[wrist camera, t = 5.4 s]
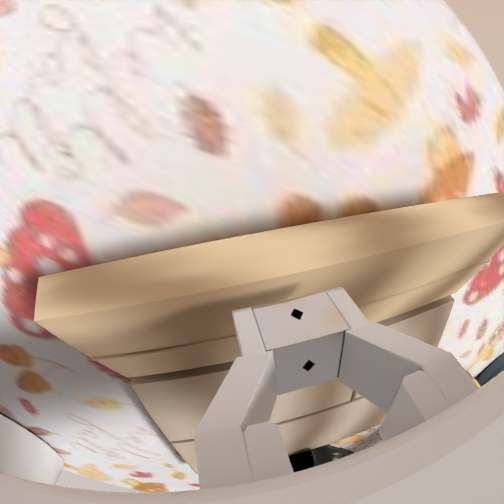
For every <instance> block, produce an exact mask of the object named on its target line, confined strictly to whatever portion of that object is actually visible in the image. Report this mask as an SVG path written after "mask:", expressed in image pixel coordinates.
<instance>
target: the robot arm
mask: <svg viewBox="0 0 504 504" xmlns="http://www.w3.org/2000/svg"><path fill="white" fill-rule="evenodd" d="M232 317H233V322H234V328H235V333H236V338H237V343H238V348H239V353H240V357H237V358H236V359H235V360H234V362H233V364H232V366H231V368H230V370H229V371H228V373H227V375H226V377H225V379H224V380H223V382H222V384H221V386H220V388H219V389H218V391H217V393H216V395H215V397H214V398H213V400H212V402H211V404H210V405H209V407H208V409H207V411H206V412H205V414H204V416H203V418H202V419H201V421H200V423H199V425H198V426H197V428H196V430H195V432H194V440H195V450H196V459H197V467H198V475H199V483H200V490H191V491H178V492H153V493H132V492H131V493H130V492H129V493H128V492H107V491H94V490H85V489H75V488H69V487H62V486H56V482H57V479H58V477H59V475H60V473H61V471H62V469H63V467H64V462H63V460H62V458H61V457H60V456H59V455H58V454H57V452H55V451H54V450H53V449H52V448H51V447H50V446H49V445H47V444H46V443H45V442H43V441H42V440H41V439H39V438H38V437H37V436H35V435H34V434H32V433H31V432H29V431H28V430H26V429H25V428H23V427H21V426H20V425H18V424H17V423H15V422H13V421H12V420H10V419H8V418H7V417H5V416H3V415H1V414H0V504H504V371H502V372H501V373H500V374H498V375H497V376H496V377H494V378H493V379H492V380H490V381H489V382H487V383H486V384H485V385H483V386H482V387H480V388H479V387H478V386H477V384H476V383H475V382H474V381H473V379H472V378H471V377H470V376H469V374H468V373H467V372H466V371H465V369H464V368H463V367H462V366H461V364H460V363H459V362H458V361H457V359H456V358H455V357H454V356H453V355H452V353H450V352H447V351H445V350H442V349H440V348H437V347H435V346H432V345H430V344H428V343H425V342H423V341H420V340H418V339H415V338H413V337H410V336H408V335H406V334H403V333H401V332H398V331H396V330H393V329H391V328H389V327H386V326H384V325H381V324H379V323H377V322H373V323H370V322H369V321H368V320H367V318H366V317H365V316H364V314H363V313H362V312H361V310H360V309H359V308H358V306H357V305H356V304H355V303H354V301H353V300H352V299H351V297H350V296H349V295H348V293H347V292H346V291H345V290H344V288H342V287H337V288H333V289H329V290H325V291H323V292H319V293H315V294H311V295H307V296H303V297H298V298H294V299H290V300H284V301H279V302H274V303H269V304H263V305H258V306H253V307H248V308H243V309H238V310H232ZM335 379H338V381H340V382H341V383H343V384H344V385H346V386H347V387H349V388H350V389H352V390H353V391H355V392H356V393H358V394H359V395H361V396H362V397H364V398H365V399H367V400H368V401H370V402H371V403H373V404H375V405H376V406H378V407H379V408H381V409H382V410H384V411H385V412H387V413H388V414H387V416H386V418H385V420H384V422H383V424H382V426H381V428H380V430H379V432H378V433H379V435H380V437H381V439H382V441H383V442H381V443H378V444H376V445H374V446H371V447H369V448H366V449H364V450H361V451H359V452H356V453H354V454H351V455H348V456H345V457H343V458H340V459H337V460H334V461H331V462H328V463H325V464H322V465H319V466H315V467H312V468H309V469H305V470H302V471H298V472H293V469H292V466H291V463H290V460H289V457H288V454H287V451H286V448H285V445H284V442H283V439H282V436H281V433H280V430H279V426H278V425H277V424H275V423H272V422H270V421H269V420H270V417H271V414H272V411H273V408H274V405H275V402H276V399H277V395H281V394H285V393H288V392H292V391H295V390H299V389H302V388H305V387H309V386H313V385H317V384H320V383H324V382H328V381H331V380H335Z"/></svg>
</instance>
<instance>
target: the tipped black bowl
mask: <svg viewBox="0 0 504 504" xmlns="http://www.w3.org/2000/svg"><path fill="white" fill-rule="evenodd" d="M309 449H310V448H309ZM311 454H312V455H311ZM351 454H354V452H352V451H350V450H347V449H344V448H337V447H334V446H331V445H324V446H321V447H318V448H314V449H310V450H308V451H304V452H301V453H297V454H294V455H290V456H288V457H289V460H290V463H291V466H292V469H293V472H298V471H302V470H305V469H309V468H312V467H315V466H319V465H322V464H325V463H328V462H331V461H334V460H337V459H340V458H343V457H345V456H348V455H351Z"/></svg>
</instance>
